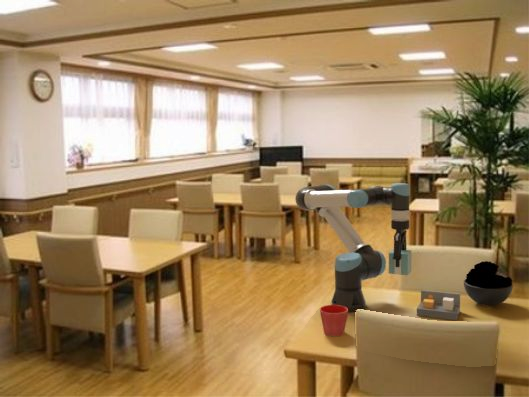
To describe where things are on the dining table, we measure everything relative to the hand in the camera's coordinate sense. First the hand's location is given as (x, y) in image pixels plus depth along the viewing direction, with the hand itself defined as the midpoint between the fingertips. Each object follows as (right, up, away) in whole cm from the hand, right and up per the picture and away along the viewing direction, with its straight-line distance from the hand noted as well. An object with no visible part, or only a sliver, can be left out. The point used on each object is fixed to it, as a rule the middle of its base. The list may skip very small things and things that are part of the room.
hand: (400, 271), depth 235 cm
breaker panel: (+15, -17, -5) cm, 23 cm away
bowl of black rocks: (+40, -16, +5) cm, 43 cm away
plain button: (+19, -15, -7) cm, 25 cm away
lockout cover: (0, 0, 0) cm, 0 cm away
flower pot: (-31, -21, -22) cm, 44 cm away
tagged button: (+11, -17, -3) cm, 20 cm away
